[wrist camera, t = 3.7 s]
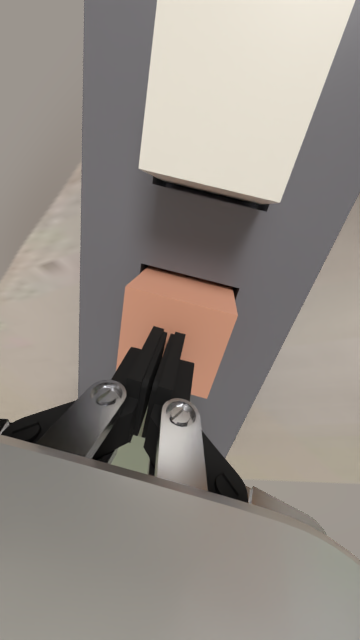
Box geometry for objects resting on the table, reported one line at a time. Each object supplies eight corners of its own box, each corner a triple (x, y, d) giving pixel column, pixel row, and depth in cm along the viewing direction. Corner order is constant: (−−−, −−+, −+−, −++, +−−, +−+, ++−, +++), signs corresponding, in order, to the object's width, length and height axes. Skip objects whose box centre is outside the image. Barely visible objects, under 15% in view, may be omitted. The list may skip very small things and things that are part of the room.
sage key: (194, 396, 20) (188, 449, 16) (180, 437, 23) (171, 492, 18) (132, 379, 20) (109, 427, 16) (126, 421, 23) (104, 473, 18)
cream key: (302, 72, 11) (365, -25, 6) (258, 204, 13) (280, 202, 9) (185, 46, 11) (164, -66, 6) (164, 181, 13) (138, 168, 9)
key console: (393, 44, 12) (471, -29, 8) (214, 442, 26) (214, 479, 23) (124, -15, 12) (86, -109, 8) (96, 409, 27) (77, 441, 23)
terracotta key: (231, 284, 15) (238, 315, 11) (209, 351, 18) (206, 398, 14) (151, 264, 16) (125, 286, 11) (140, 333, 18) (115, 374, 14)
